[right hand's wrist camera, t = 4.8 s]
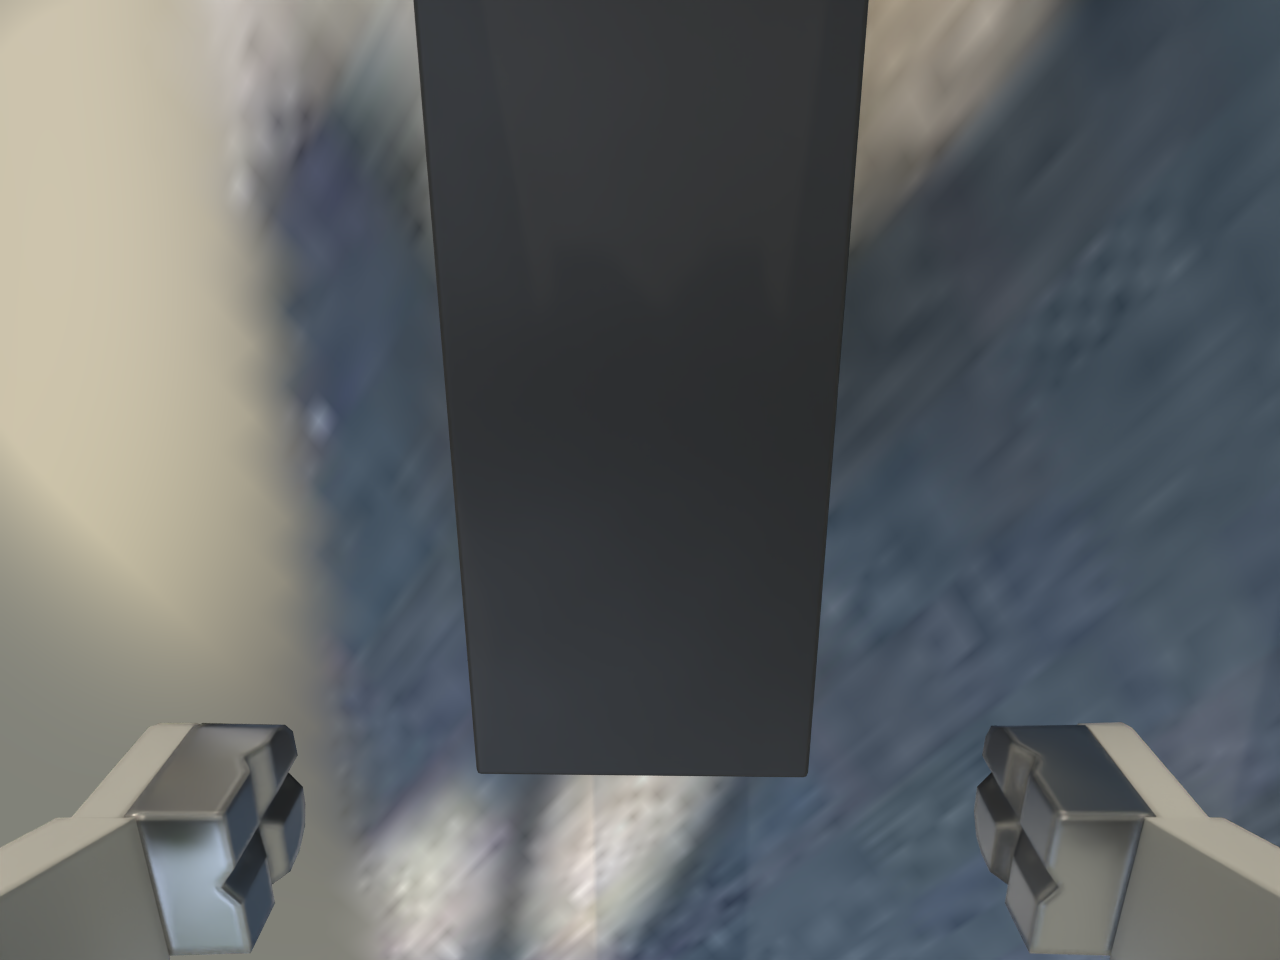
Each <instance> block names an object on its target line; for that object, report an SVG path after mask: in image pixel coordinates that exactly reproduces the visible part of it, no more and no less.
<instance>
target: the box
mask: <svg viewBox="0 0 1280 960" xmlns="http://www.w3.org/2000/svg"><path fill="white" fill-rule="evenodd" d="M414 12H415V24H416V36H417V48H418V60H419V73H420V85H421V97H422V109H423V121H424V133H425V146H426V158H427V170H428V182H429V194H430V206H431V219H432V231H433V243H434V255H435V267H436V279H437V291H438V304H439V316H440V328H441V340H442V352H443V364H444V377H445V389H446V401H447V413H448V425H449V437H450V450H451V462H452V474H453V486H454V498H455V510H456V523H457V535H458V547H459V559H460V571H461V583H462V596H463V608H464V620H465V632H466V644H467V656H468V669H469V681H470V693H471V705H472V717H473V729H474V742H475V754H476V766H477V771H478V773H481V774H561V775H653V776H745V777H805V776H807V773H808V765H809V752H810V740H811V727H812V714H813V701H814V689H815V676H816V663H817V650H818V638H819V625H820V612H821V599H822V587H823V574H824V561H825V548H826V535H827V523H828V510H829V497H830V484H831V472H832V459H833V446H834V433H835V421H836V408H837V395H838V382H839V370H840V357H841V344H842V331H843V319H844V306H845V293H846V280H847V268H848V255H849V242H850V229H851V217H852V204H853V191H854V178H855V166H856V153H857V140H858V127H859V115H860V102H861V89H862V76H863V64H864V51H865V38H866V25H867V13H868V0H414Z"/></svg>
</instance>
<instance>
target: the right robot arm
mask: <svg viewBox="0 0 1280 960" xmlns="http://www.w3.org/2000/svg"><path fill="white" fill-rule="evenodd" d="M296 757H297V750H296V745H295V740H294V735H293V731H292V730H291V729H289V728H288V727H287V726H286V725H269V724H223V723H202V724H198V723H159V724H156V725H153V726H150V727H148V728H147V729H146V730H145V731H144V733H143V734H142V735H141V736H140V737H139V738H138V740H137V741H136V742H135V743H134V744H133V745H132V747H131V748H130V749H129V750H128V751H127V753H126V754H125V755H124V756H123V757H122V758H121V760H120V761H119V762H118V763H117V764H116V765H115V767H114V768H113V769H112V770H111V771H110V772H109V774H108V775H107V776H106V777H105V778H104V779H103V781H102V782H101V783H100V784H99V785H98V786H97V788H96V789H95V790H94V791H93V792H92V794H91V795H90V796H89V797H88V798H87V799H86V801H85V802H84V803H83V804H82V805H81V806H80V808H79V809H78V810H77V811H76V812H75V813H74V815H73V816H72V817H71V818H55V819H53V820H52V821H50V822H48V823H46V824H44V825H42V826H40V827H38V828H36V829H34V830H33V831H31V832H29V833H27V834H25V835H23V836H21V837H19V838H17V839H16V840H13V841H12V842H10V843H8V844H6V845H4V846H2V847H0V960H170V956H169V955H202V954H236V953H251V951H252V949H253V947H254V945H255V943H256V941H257V939H258V937H259V935H260V933H261V931H262V928H263V927H264V924H265V922H266V920H267V918H268V916H269V914H270V912H271V910H272V908H273V906H274V904H275V900H274V895H273V889H272V884H274V883H275V882H276V881H278V880H279V879H280V878H282V877H283V876H285V875H286V874H287V873H289V872H290V871H291V869H292V866H293V864H294V862H295V860H296V857H297V855H298V853H299V851H300V846H301V842H302V837H303V832H304V828H305V799H304V792H303V787H302V786H301V785H300V784H299V783H298V782H297V781H296V780H295V779H294V778H293V777H292V776H291V775H290V774H289V773H288V772H289V770H290V768H291V766H292V765H293V763H294V761H295V759H296ZM983 757H984V759H985V761H986V763H987V765H988V766H989V768H990V770H991V772H992V773H991V774H990V775H989V776H988V777H987V778H986V779H985V780H984V781H983V782H982V783H981V784H980V785H979V786H978V787H977V793H976V801H975V809H974V814H975V825H976V836H977V839H978V843H979V846H980V850H981V853H982V856H983V858H984V860H985V862H986V864H987V866H988V869H989V871H990V872H991V873H993V874H994V875H995V876H997V877H998V878H1000V879H1001V880H1002V881H1004V882H1005V883H1006V884H1008V889H1007V894H1006V900H1005V904H1006V906H1007V908H1008V910H1009V912H1010V914H1011V916H1012V918H1013V920H1014V922H1015V924H1016V926H1017V929H1018V931H1019V933H1020V935H1021V937H1022V939H1023V941H1024V943H1025V945H1026V947H1027V949H1028V951H1029V953H1041V954H1076V955H1111V956H1110V960H1280V847H1278V846H1276V845H1274V844H1272V843H1270V842H1268V841H1266V840H1264V839H1263V838H1261V837H1259V836H1257V835H1255V834H1253V833H1251V832H1249V831H1247V830H1246V829H1244V828H1242V827H1240V826H1238V825H1236V824H1234V823H1232V822H1230V821H1228V820H1227V819H1225V818H1209V817H1208V816H1207V815H1206V813H1205V812H1204V811H1203V810H1202V809H1201V808H1200V806H1199V805H1198V804H1197V803H1196V802H1195V801H1194V799H1193V798H1192V797H1191V796H1190V795H1189V794H1188V792H1187V791H1186V790H1185V789H1184V788H1183V787H1182V785H1181V784H1180V783H1179V782H1178V781H1177V780H1176V778H1175V777H1174V776H1173V775H1172V774H1171V773H1170V771H1169V770H1168V769H1167V768H1166V767H1165V766H1164V764H1163V763H1162V762H1161V761H1160V760H1159V759H1158V757H1157V756H1156V755H1155V754H1154V753H1153V751H1152V750H1151V749H1150V748H1149V747H1148V746H1147V744H1146V743H1145V742H1144V741H1143V740H1142V739H1141V737H1140V736H1139V735H1138V734H1137V733H1136V732H1135V730H1134V729H1133V728H1131V727H1130V726H1128V725H1126V724H1124V723H1122V722H1117V723H1085V724H1078V725H1022V726H991V727H990V729H989V731H988V733H987V735H986V738H985V743H984V749H983Z"/></svg>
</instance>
